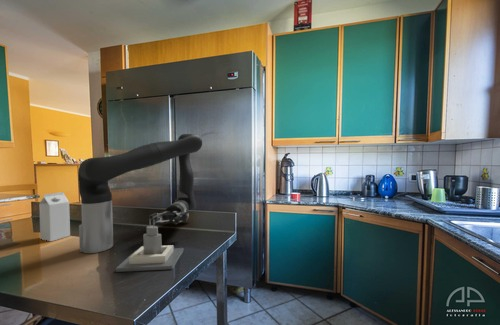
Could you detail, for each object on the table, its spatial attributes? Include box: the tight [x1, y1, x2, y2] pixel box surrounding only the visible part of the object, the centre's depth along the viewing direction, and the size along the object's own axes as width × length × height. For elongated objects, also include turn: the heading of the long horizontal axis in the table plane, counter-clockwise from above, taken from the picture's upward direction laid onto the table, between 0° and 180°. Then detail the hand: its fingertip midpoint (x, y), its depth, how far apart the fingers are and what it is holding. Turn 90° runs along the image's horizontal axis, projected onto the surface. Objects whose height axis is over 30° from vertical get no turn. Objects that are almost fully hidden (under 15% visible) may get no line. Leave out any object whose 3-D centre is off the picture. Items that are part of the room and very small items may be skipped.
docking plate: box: [115, 244, 184, 273], centre depth 70 cm, size 16×13×3 cm
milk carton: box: [38, 191, 71, 242], centre depth 93 cm, size 7×7×19 cm
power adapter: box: [142, 221, 163, 255], centre depth 70 cm, size 3×5×12 cm, turn 64°
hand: (163, 222), depth 81 cm, fingers open, 8 cm apart
